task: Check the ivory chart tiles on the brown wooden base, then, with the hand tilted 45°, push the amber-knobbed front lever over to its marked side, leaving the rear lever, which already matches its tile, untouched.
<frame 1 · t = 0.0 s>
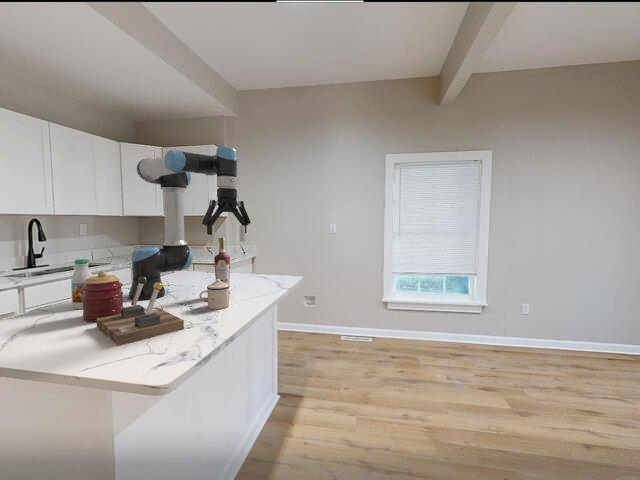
hand: (227, 242, 130), 28 cm above the countertop, tool pointing down, fingers open, 13 cm apart
milk bottle: (84, 307, 138), on the countertop
liquor: (222, 296, 158), on the countertop
teacup with lid: (215, 307, 139), on the countertop
canister: (104, 317, 125), on the countertop
front lever: (153, 297, 109), point 11 cm above the countertop, hinge at -22.0°
brown wooden base: (140, 328, 113), on the countertop
rear lever: (138, 290, 119), point 11 cm above the countertop, hinge at -22.0°
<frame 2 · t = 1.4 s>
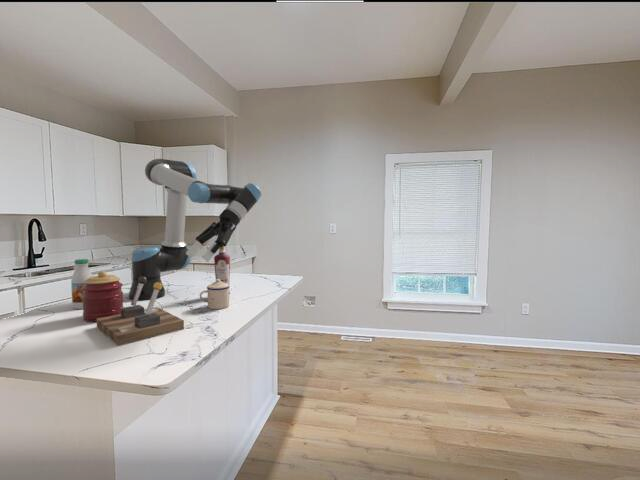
hand: (196, 257, 119), 23 cm above the countertop, tool tilted 45°, fingers open, 12 cm apart
nothing on the countertop moved.
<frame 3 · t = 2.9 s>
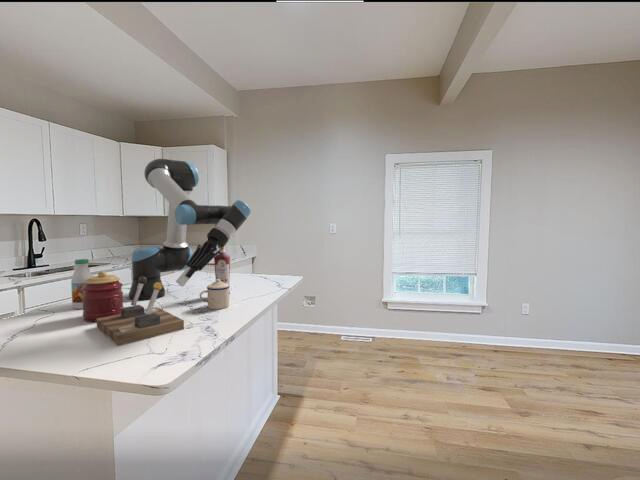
hand: (179, 284, 114), 15 cm above the countertop, tool tilted 45°, fingers closed
nothing on the countertop moved.
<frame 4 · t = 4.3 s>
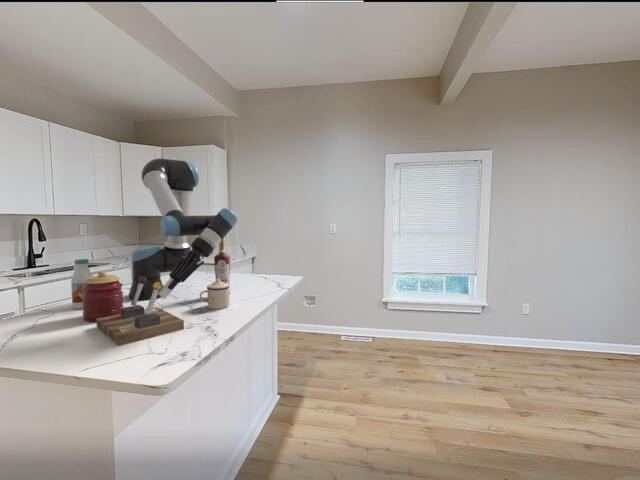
hand: (161, 296, 111), 12 cm above the countertop, tool tilted 45°, fingers closed
front lever: (153, 297, 109), point 11 cm above the countertop, hinge at -21.4°, touching gripper
everything else where it was.
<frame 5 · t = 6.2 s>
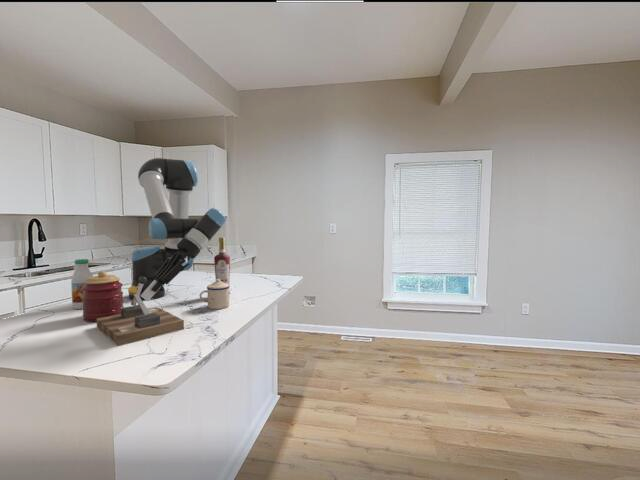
hand: (144, 298, 107), 12 cm above the countertop, tool tilted 45°, fingers closed
front lever: (138, 300, 106), point 11 cm above the countertop, hinge at 23.3°
everything else where it was.
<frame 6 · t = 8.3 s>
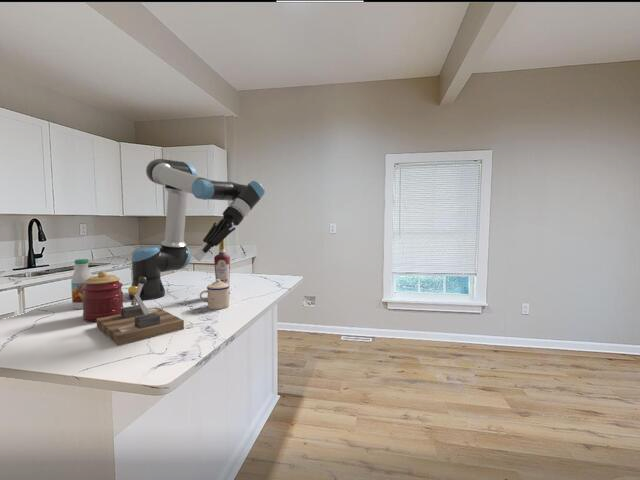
hand: (196, 258, 119), 23 cm above the countertop, tool tilted 45°, fingers closed
nothing on the countertop moved.
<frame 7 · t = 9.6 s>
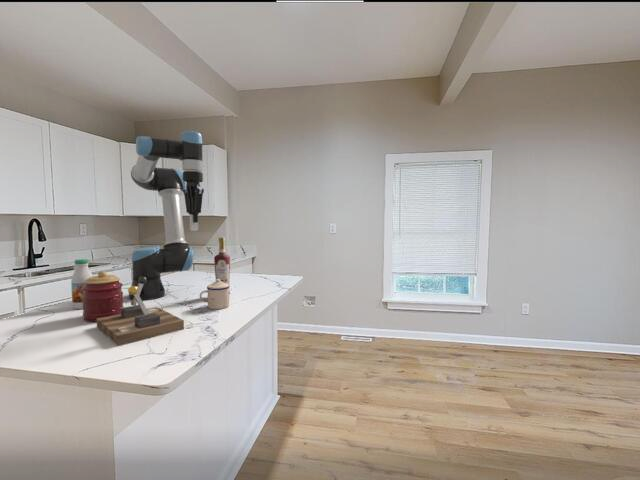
hand: (194, 230, 134), 32 cm above the countertop, tool pointing down, fingers closed
nothing on the countertop moved.
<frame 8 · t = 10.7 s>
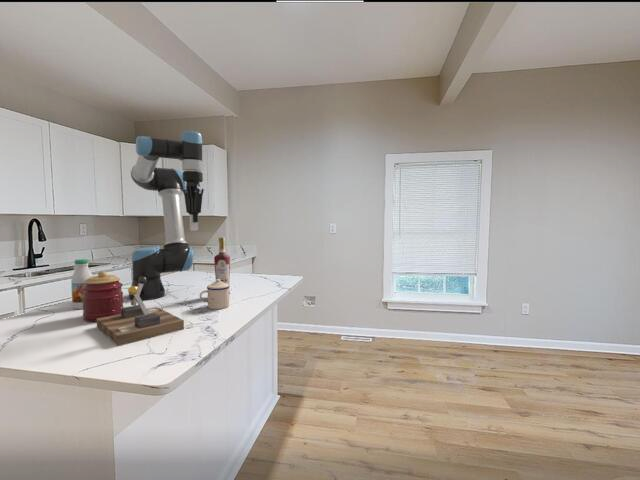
hand: (194, 230, 134), 32 cm above the countertop, tool pointing down, fingers closed
nothing on the countertop moved.
at the end: front lever at +23° (first picture: -22°); rear lever at -22° (first picture: -22°) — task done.
